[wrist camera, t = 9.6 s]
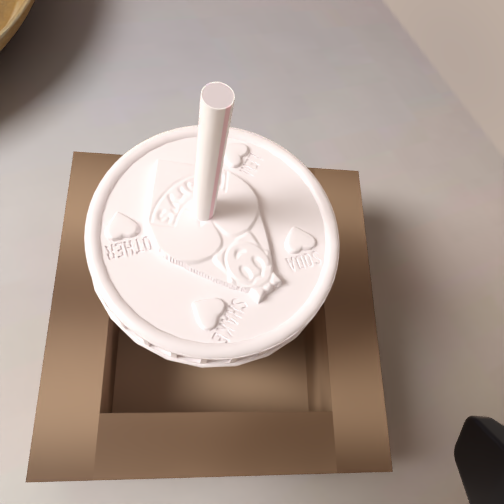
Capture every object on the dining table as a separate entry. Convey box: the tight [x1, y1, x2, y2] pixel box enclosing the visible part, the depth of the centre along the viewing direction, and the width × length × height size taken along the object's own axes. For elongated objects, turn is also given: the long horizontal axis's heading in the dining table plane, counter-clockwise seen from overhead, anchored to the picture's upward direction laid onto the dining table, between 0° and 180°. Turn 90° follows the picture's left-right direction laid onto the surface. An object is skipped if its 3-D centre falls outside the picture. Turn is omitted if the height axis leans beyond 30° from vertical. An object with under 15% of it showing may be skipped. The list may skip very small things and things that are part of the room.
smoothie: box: [84, 82, 339, 368], centre depth 14 cm, size 6×6×14 cm
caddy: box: [26, 152, 393, 482], centre depth 19 cm, size 12×12×4 cm
